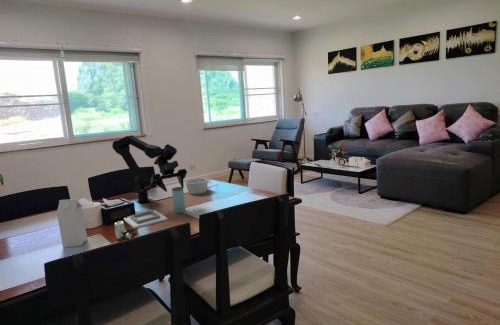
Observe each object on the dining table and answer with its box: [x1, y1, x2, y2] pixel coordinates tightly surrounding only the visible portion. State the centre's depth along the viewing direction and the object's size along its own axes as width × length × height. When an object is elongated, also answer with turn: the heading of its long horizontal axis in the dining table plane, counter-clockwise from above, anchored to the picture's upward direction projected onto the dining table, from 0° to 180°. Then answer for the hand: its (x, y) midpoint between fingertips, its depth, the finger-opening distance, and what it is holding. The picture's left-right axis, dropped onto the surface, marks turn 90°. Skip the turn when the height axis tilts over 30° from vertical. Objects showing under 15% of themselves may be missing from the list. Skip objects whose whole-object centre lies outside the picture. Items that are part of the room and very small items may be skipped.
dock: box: [123, 210, 168, 230], centre depth 168 cm, size 16×16×2 cm
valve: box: [114, 220, 138, 241], centre depth 145 cm, size 7×7×12 cm
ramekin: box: [185, 178, 208, 195], centre depth 213 cm, size 13×13×7 cm
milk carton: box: [56, 198, 88, 249], centre depth 143 cm, size 7×7×19 cm
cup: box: [171, 186, 186, 214], centre depth 177 cm, size 6×6×12 cm
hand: (174, 189), depth 180 cm, fingers open, 9 cm apart
